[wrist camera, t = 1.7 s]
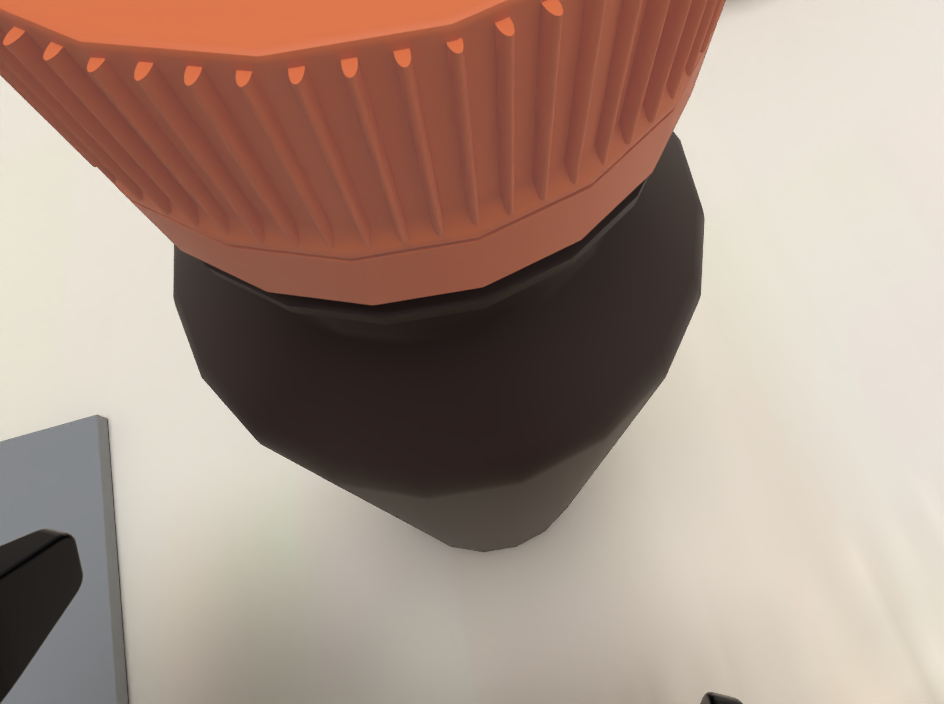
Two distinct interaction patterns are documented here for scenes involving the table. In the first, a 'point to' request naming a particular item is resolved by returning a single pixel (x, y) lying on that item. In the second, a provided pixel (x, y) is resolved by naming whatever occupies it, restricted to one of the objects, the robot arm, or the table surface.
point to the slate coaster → (93, 526)
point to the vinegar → (404, 223)
